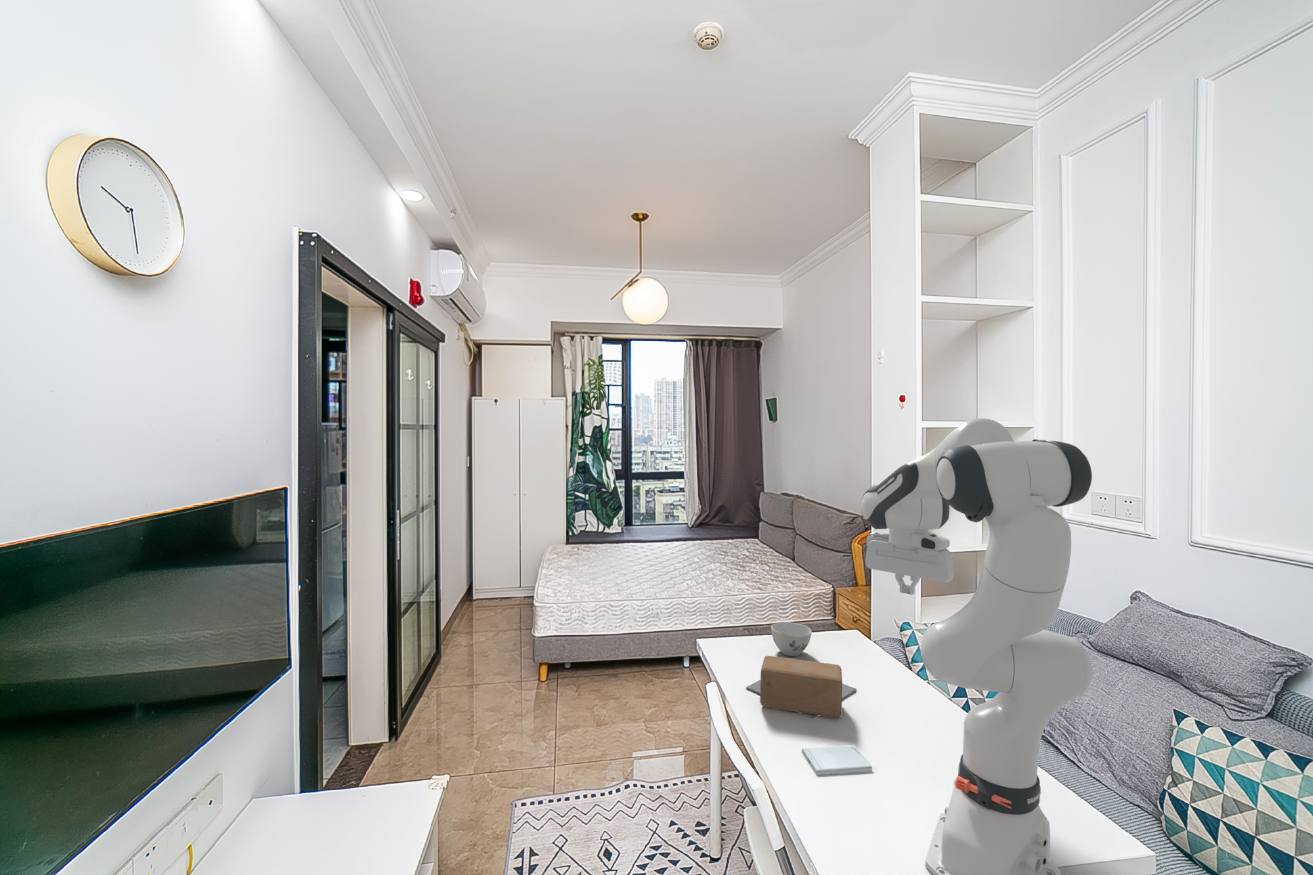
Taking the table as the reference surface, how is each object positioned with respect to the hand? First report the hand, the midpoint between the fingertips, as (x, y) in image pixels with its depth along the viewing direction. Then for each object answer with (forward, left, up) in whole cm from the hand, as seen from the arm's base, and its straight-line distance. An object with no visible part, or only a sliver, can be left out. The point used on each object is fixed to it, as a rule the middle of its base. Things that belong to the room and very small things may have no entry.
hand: (907, 593), depth 138 cm
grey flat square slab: (-4, +27, -32) cm, 42 cm away
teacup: (+16, +44, -33) cm, 57 cm away
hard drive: (-27, +3, -33) cm, 43 cm away
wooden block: (-7, +13, -27) cm, 31 cm away
